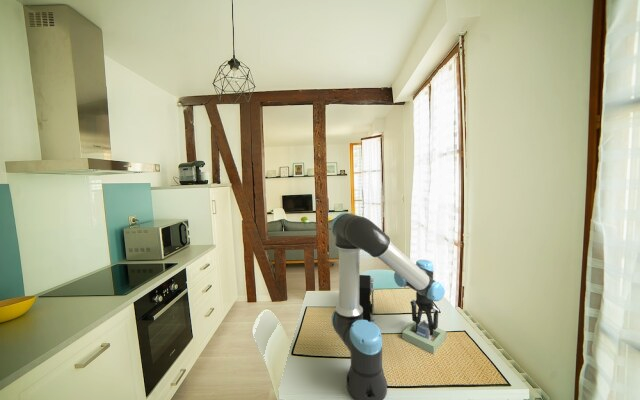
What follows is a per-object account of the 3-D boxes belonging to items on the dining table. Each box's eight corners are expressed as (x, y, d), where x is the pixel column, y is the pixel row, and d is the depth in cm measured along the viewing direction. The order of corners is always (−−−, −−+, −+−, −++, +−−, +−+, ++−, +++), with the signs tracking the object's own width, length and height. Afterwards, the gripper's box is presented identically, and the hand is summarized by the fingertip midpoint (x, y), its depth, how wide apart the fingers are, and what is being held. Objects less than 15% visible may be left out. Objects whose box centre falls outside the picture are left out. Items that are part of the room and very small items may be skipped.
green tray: (433, 354, 108) (433, 346, 108) (402, 338, 119) (402, 331, 119) (446, 338, 119) (446, 331, 118) (416, 325, 130) (416, 319, 129)
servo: (424, 345, 114) (424, 329, 114) (416, 341, 117) (416, 326, 117) (433, 335, 121) (433, 320, 121) (425, 331, 124) (425, 317, 124)
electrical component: (374, 324, 132) (374, 288, 130) (355, 322, 134) (354, 287, 132) (373, 307, 149) (373, 275, 147) (357, 305, 151) (356, 274, 149)
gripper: (446, 295, 113) (445, 342, 115) (411, 284, 126) (411, 327, 128) (440, 301, 108) (439, 350, 110) (404, 289, 121) (404, 334, 123)
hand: (424, 338), depth 119 cm, fingers closed on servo, 4 cm apart
